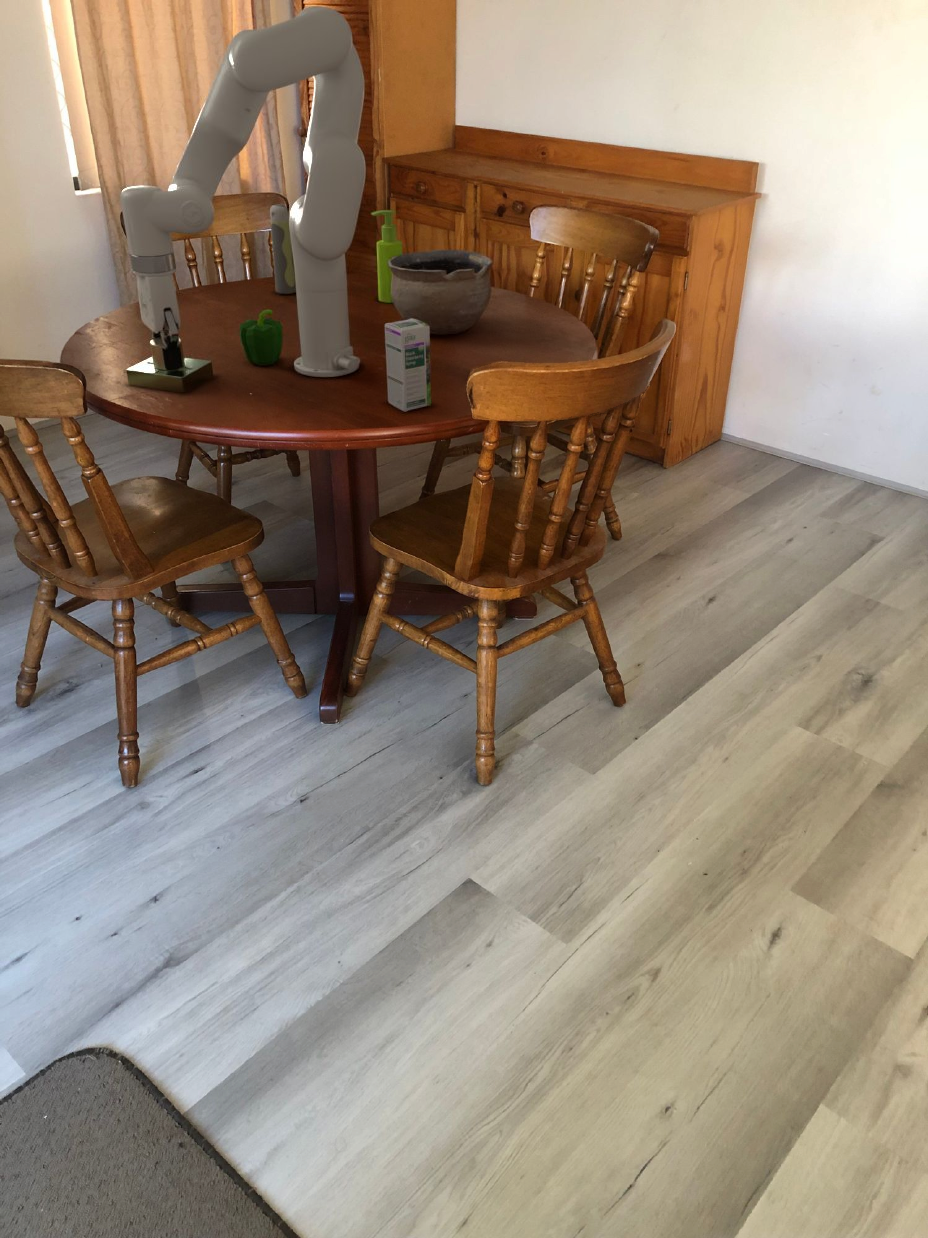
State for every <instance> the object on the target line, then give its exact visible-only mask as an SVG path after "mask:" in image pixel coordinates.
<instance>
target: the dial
mask: <svg viewBox="0 0 928 1238" xmlns="http://www.w3.org/2000/svg"><path fill="white" fill-rule="evenodd" d="M178 338H179V343H180V349H181V356H182V363H183V366H184V364H185V362H184V357H185V356H184V349H183V341H182V339H181V338H180V337H178ZM166 340H167V337H166ZM149 346H150V352H151V357H152V358H153V364H154V367H155V368H157V369H161V370H167V369H166V368H165V365H164V358H163V352H162V348H164V346H163V342H162V338H161V337H160V338H156V339H153V340H152V339H151V340H150V341H149ZM171 370H172V369H171Z"/></svg>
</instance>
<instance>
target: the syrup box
mask: <svg viewBox="0 0 928 1238" xmlns="http://www.w3.org/2000/svg"><path fill="white" fill-rule="evenodd" d="M430 335H431V334H430V329H429V325H427V324H426V323H424V322H422V321H419V320H416V319H413V318H411V319H409V320H404V319H403V320H398V321H392V322H387V323H385V324H384V344H385V361H386V363H385V364H386V384H387V402H388V404H390V405H392V406H393V407H395V408H397V409H398V410H399V411H400V410H401V411H402V412H409V411H413V410H417V409H421V408H425V407H430V406H431V405H432V391H431V390H432V387H431V386H432V384H431V382H432V381H431V337H430Z"/></svg>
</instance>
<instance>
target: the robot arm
mask: <svg viewBox="0 0 928 1238" xmlns="http://www.w3.org/2000/svg"><path fill="white" fill-rule="evenodd" d="M352 33H353V32H352V29H351V26H350V25H349V22H348V21H347V19H346V18H345V17H344V16H343V15H342V13H340V12H339V11H337V10H336V9H333V8H331V7H326V6H321V5H311V6H308V7H305V8H303V9H302V10H300V11H299V12H298V13H297V15H296V16H295V17H292V18H290V19H288V20H284V21H282V22H279V23H276V24H274V25H270V26H267V27H263V28H259V29H244V30H241V31H239V32H238V33H236V34H235V35H234V36H233V37H232V38H231V41H230V42H229V43H228V46H227V48H226V51H225V52H224V56H223V57H222V60H221V63H220V65H219V67H218V70H217V72H216V75H215V78H214V80H213V82H212V85H211V86H210V90H209V91H208V95H206V99H205V101H204V104H203V106H202V108H201V111H200V113H199V115H198V118H197V120H196V122H195V125H194V127H193V130H192V133H191V135H190V137H189V140H188V141H187V143H186V146H185V148H184V149H183V153H182V155H181V157H180V160H179V162H178V165H177V166H176V169H175V172H174V174H173V176H172V180H171V182H170V183H169V186H168V189H167V190H163V189H162V188H160V187H157V186H154V185H135V186H128V187H126V188H124V189H123V190H122V191H120V192H121V193H120V199H119V200H120V207H121V211H122V217H123V224H124V230H125V235H126V240H127V241H126V242H127V247H128V254H129V258H130V266H131V270H132V274H133V275H134V276H136V288H137V296H138V302H139V304H138V306H139V311H140V319H141V321H142V323H143V324H144V325H145V326H146V327H147V328H148V329H149V330H150V335H151V340H153V339H156V338H160V337H161V338H162V342H163V346H164V348H162V352H163V358H164V365H165V368H166V369H167V370H171V369H177V368H182V367H183V363H182V356H181V349H180V343H179V338H180V337H179V330H180V329H181V327H182V326H181V316H180V308H179V303H178V298H177V297H178V296H177V292H176V287H175V282H174V277H173V274H174V273H176V272H177V265H176V264H177V263H176V257H175V251H174V244H173V237H172V233H176V234H185V235H198V234H202V233H204V232H206V231H207V230H208V229H209V228H210V227H211V226H212V225H213V222H214V219H215V207H214V205H213V199H214V197H215V194H216V192H217V190H218V187H219V186H220V183H221V181H222V178H223V177H224V174H225V173H226V171H227V169H228V167H229V166H230V164H231V162H232V161H233V160H234V158H235V157H236V156H237V155H239V154H240V153H241V152H242V151H243V150H244V148H245V147H246V145H247V144H248V142H249V140H250V137H251V135H252V133H253V131H254V128H255V126H256V123H257V121H258V118H259V116H260V114H261V112H262V109H263V107H264V104H265V103H266V100H267V98H268V97H269V94H270V92H272V91H275V90H278V89H282V88H286V87H288V86H292V85H295V84H297V83H299V82H302V81H305V80H307V79H311V78H313V96H312V97H313V99H312V106H311V113H310V119H309V123H308V129H307V135H306V136H307V137H306V140H305V144H304V148H303V154H302V163H303V167H304V170H305V172H306V174H307V175H308V177H307V183H306V190H305V194H303V195H301V196H300V197H299V198H297V200H295V202H294V203H293V205H292V206H291V209H290V211H289V230H290V238H291V245H292V253H293V263H294V274H295V284H296V291H295V293H296V295H295V296H296V303H297V304H296V306H297V318H298V330H299V342H300V343H299V344H300V355H301V356H299V357H297V358H296V359H295V360H294V362H293V366H294V367H293V368H294V370H295V371H296V372H297V373H298V374H301V375H303V376H308V377H313V378H335V377H341V376H346V375H349V374H352V373H354V372H356V370H358V369H359V368H360V364H361V358H360V357H357V356H354V347H353V346H351V338H350V335H351V334H350V319H349V317H350V316H349V300H348V299H349V298H348V278H347V277H348V276H347V264H346V255H345V254H346V252H347V251H348V250H349V248H350V247H351V244H352V242H353V240H354V235H355V232H356V228H357V223H358V218H359V213H360V208H361V203H362V199H363V192H364V189H365V183H366V172H367V171H366V167H367V166H366V159H365V155H364V153H363V151H362V149H361V147H360V146H359V145H358V142H359V141H358V140H359V134H360V127H361V121H362V114H363V108H364V99H365V77H364V70H363V66H362V62H361V60H360V56H359V54H358V51H357V49H356V47H355V44H354V43H353V34H352ZM166 337H167V340H166Z"/></svg>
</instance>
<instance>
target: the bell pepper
mask: <svg viewBox="0 0 928 1238" xmlns="http://www.w3.org/2000/svg"><path fill="white" fill-rule="evenodd" d="M272 314H273V310H272V309H265V310H262V311H261V312H260V313H259V314H258V319H257V320H255V319H253V318H247V319H246V320H245V321H244V322H243V323H240V325H239V328H238V334H239V340H240V344H241V346H242V350H243V352H244V355H245V358H246V359H247V360H248V362H249V363H253V364H255V365H257V366H271V365H274V364H275V363H276V362H277V361H278V360H279V359H280V357H281V356H282V355H281V354H282V350H283V349H282V348H283V340H284V329H283V326H282V323H281V321H280V320H274V319H273V318H272V317H267V318H265V317H266V316H267V315H269V316H271V315H272Z"/></svg>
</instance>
